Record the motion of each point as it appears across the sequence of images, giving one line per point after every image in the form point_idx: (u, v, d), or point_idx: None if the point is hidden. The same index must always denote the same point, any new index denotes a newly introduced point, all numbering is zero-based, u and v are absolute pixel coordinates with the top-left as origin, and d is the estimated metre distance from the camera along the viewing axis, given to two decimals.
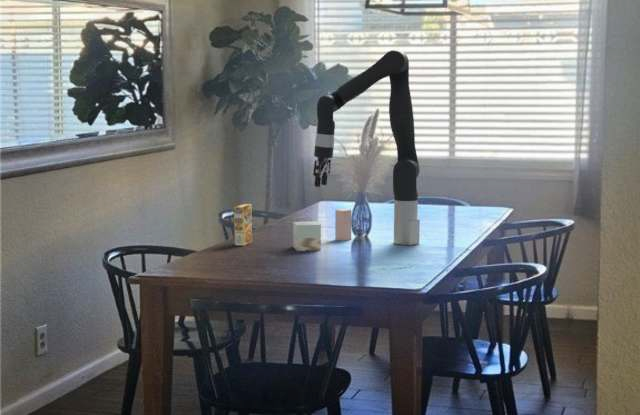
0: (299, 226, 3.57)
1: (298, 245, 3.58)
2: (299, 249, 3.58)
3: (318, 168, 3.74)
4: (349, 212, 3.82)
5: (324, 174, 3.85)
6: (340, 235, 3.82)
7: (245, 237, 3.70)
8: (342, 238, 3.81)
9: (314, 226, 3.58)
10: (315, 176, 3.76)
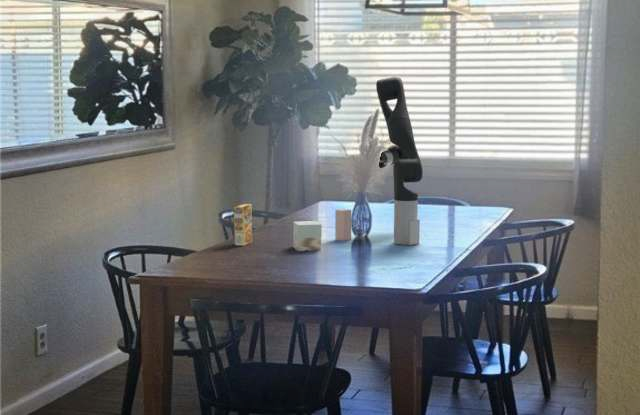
0: (300, 226, 3.57)
1: (298, 245, 3.58)
2: (299, 249, 3.58)
3: None
4: (349, 212, 3.82)
5: None
6: (340, 235, 3.82)
7: (245, 237, 3.70)
8: (342, 238, 3.81)
9: (315, 226, 3.58)
10: None
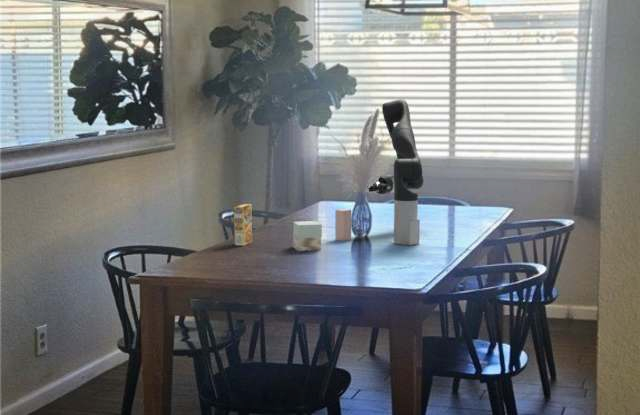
0: (300, 226, 3.57)
1: (298, 245, 3.58)
2: (299, 249, 3.58)
3: None
4: (349, 212, 3.82)
5: None
6: (340, 235, 3.82)
7: (245, 237, 3.70)
8: (342, 238, 3.81)
9: (315, 226, 3.58)
10: None
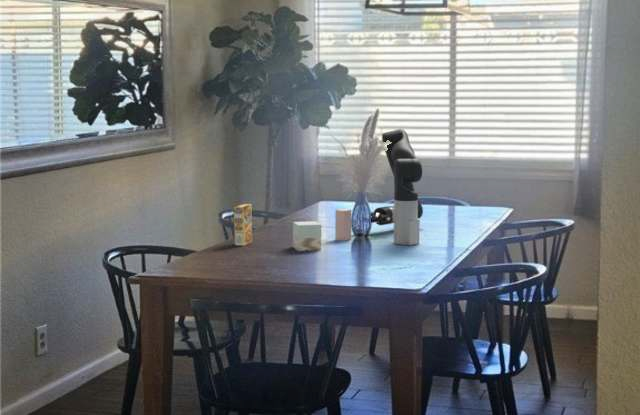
0: (300, 226, 3.57)
1: (298, 245, 3.58)
2: (299, 249, 3.58)
3: None
4: (349, 212, 3.82)
5: None
6: (340, 235, 3.82)
7: (245, 237, 3.70)
8: (342, 238, 3.81)
9: (315, 226, 3.59)
10: None
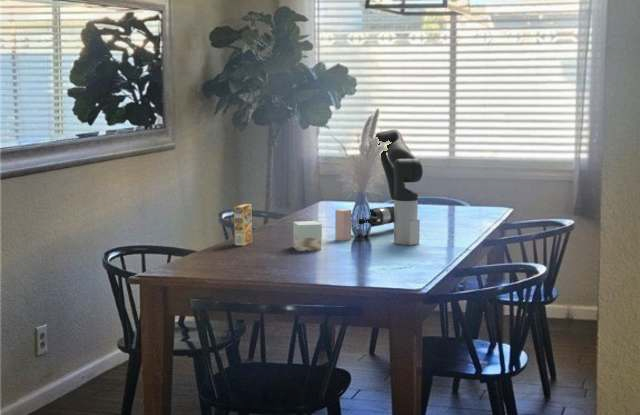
0: (300, 226, 3.57)
1: (298, 245, 3.58)
2: (299, 249, 3.58)
3: None
4: (349, 212, 3.82)
5: None
6: (340, 235, 3.82)
7: (245, 237, 3.70)
8: (342, 238, 3.81)
9: (315, 226, 3.59)
10: None
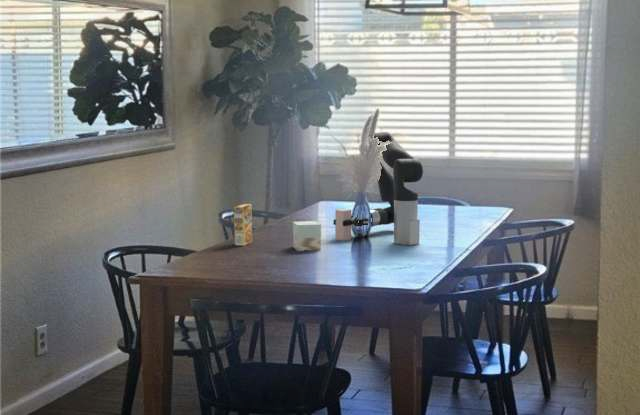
0: (299, 226, 3.57)
1: (298, 245, 3.58)
2: (299, 249, 3.58)
3: None
4: (349, 212, 3.82)
5: None
6: (340, 235, 3.82)
7: (245, 237, 3.70)
8: (342, 238, 3.81)
9: (314, 226, 3.59)
10: None
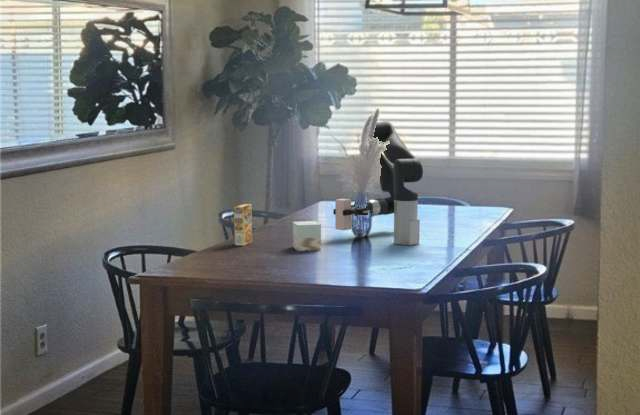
0: (299, 226, 3.57)
1: (298, 245, 3.58)
2: (299, 249, 3.58)
3: None
4: (349, 202, 3.81)
5: None
6: (340, 224, 3.81)
7: (245, 237, 3.70)
8: (342, 228, 3.81)
9: (314, 226, 3.59)
10: None
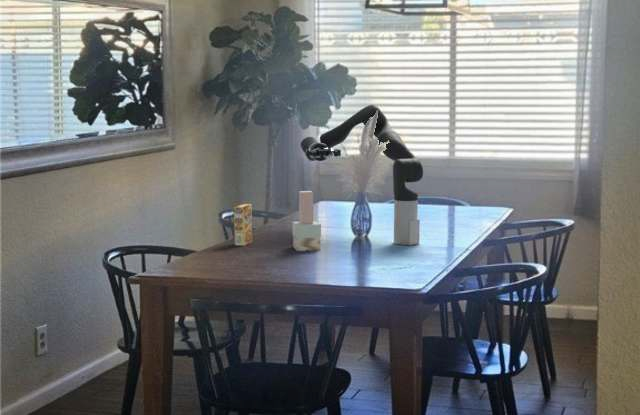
0: (299, 226, 3.57)
1: (298, 245, 3.58)
2: (299, 249, 3.58)
3: (305, 151, 3.91)
4: None
5: None
6: (308, 218, 3.60)
7: (245, 237, 3.70)
8: (311, 221, 3.60)
9: (314, 226, 3.59)
10: (310, 155, 3.88)
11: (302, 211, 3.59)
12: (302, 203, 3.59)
